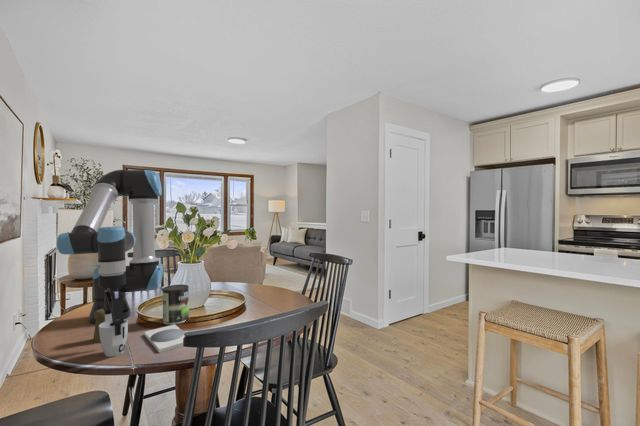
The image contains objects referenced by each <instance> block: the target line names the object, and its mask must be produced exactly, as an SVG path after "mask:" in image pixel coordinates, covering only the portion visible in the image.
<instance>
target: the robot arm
mask: <svg viewBox="0 0 640 426" xmlns="http://www.w3.org/2000/svg"><path fill="white" fill-rule="evenodd" d="M162 189H163V187H162V183H161V178H160V175H159V174H158V172H157V171H155V170H151V169H149V170H148V169H116V170H112V171H110V172H107V173H105V174H104V175H103V176H100V178H98V179H97V180H96V181H95V183H93V185H92V188H91V189H90V190H91V191H90V192H91V195H90V197H89V199H88V201H87V203H86V204H85V206H84V208H83V210H82V211H81V214H80V215H79V217H78V219H77V220H76V223H75V225H74V226H73V228H72V230H71V231H70V232H69V231H67V232H62V233H60V234H59V235H58V236H57V239H56V248H57V251H58V253H59V254H62V255H75V256H76V255H89V254H91V255H92V254H97V262H98V264H97V265H96V266H95V268H94V270H93V272H92V273H93V274H92V285H93V286H92V288H93V289H92V290H93V303H92V307H91V309H90V312H89V315H88V321H89V323H92V324H95V323H96V319H95V318H94V313H95V311H97V310H99V309H104V311H105V312H104V313H105V314H106V315H105V322H106V321H110V320H112V322H113V323H110V326H112V346H117V345H121V344H123V327H122V323H124V319H127V318H128V317H129V316H130V315H131V307H130V305H129V303H128V301H127V298H126V293H134V292H150V291H156V290H158V289H159V288H160V286H161V283H162V279H163V274H164V265H163V263H160V262H159V261H160V259H159V258H157V256H156V243H155V242H156V239H155V238H156V237H155V236H156V235H155V232H156V231H155V227H156V226H155V225H156V224H155V203H157V202H158V201H159V199H158V198H159V197H161V196H162V194H163V193H162V192H163V190H162ZM118 197H127V198H128V199H127V200H128V201H129V202H130V203H131V204H132V232H131V231H128V230H125V227H124V226H120V225H119V226H102V225H103V223H104V220H105V218H106V217H107V214H108V212H109V210H110V208H111V205H112V204H113V202H114V201H116V200H117V198H118ZM131 249H132V254H133V255H132V259H131V260H130V261H129V265H126V264H127V263H126V262H127V260H126V252H128V251H130V250H131ZM118 319H119V320H118Z"/></svg>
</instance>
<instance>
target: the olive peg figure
mask: <svg viewBox="0 0 640 426" xmlns="http://www.w3.org/2000/svg"><path fill="white" fill-rule="evenodd" d="M104 312H105V311H104V309H99V310H97V311H95V313H94V318H95V319H96V323H94V324H95V325H94V332H93V340H92V342H93V343H95V344H101V341H100V334H99V325H100V324H101V323H103V322H105V315H106V314H105V313H104Z"/></svg>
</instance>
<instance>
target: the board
mask: <svg viewBox="0 0 640 426" xmlns="http://www.w3.org/2000/svg"><path fill="white" fill-rule="evenodd" d="M184 333H186V332H185V331H184V329H181V327H179V326H177V324H174V325H166V326H161V327H158V328H155V329H150V330H147V331H143V334H144V337H145V338H146V340H148V341H149V342H150V344H151V345H152V346H153V347H154V348H155V350H156V351H157V352H158V353H164V352H167V351H171V350H174V349H177V348H181V347H184V346H183V338H184Z"/></svg>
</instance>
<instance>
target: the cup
mask: <svg viewBox="0 0 640 426" xmlns="http://www.w3.org/2000/svg"><path fill="white" fill-rule="evenodd" d="M118 320H119V319H118ZM110 323H113V322H112V320H110V321H106V322H103V323H101V324H100V325H99V334H100V341H101V343H100V344H101V347H102V352H103V353H104V355H105V357H108V358H113V357H116V356H120V355H121V354H123V353H124V352H125V348H126V344H127V340H128V334H129V333H128V332H129V331H128V330H129V329H128V328H129V320H128V319H127V318H124V323H122V327H123V344H121V345H117V346H112V326H110Z"/></svg>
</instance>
